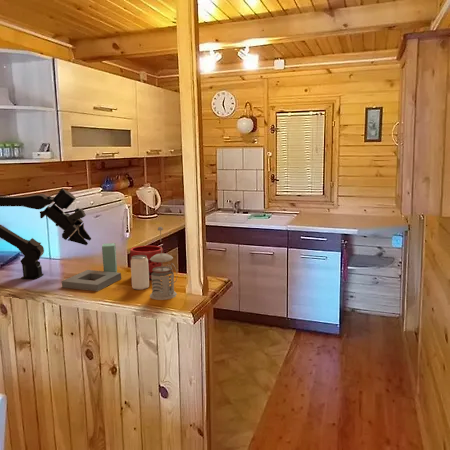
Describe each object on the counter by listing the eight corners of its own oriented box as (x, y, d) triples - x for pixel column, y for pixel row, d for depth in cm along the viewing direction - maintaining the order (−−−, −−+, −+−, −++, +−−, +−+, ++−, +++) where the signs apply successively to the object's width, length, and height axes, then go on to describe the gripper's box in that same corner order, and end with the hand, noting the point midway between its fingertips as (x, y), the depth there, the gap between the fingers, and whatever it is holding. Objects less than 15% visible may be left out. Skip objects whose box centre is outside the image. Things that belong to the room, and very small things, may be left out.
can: (147, 289, 165) (146, 258, 163) (130, 290, 165) (128, 259, 163) (150, 284, 171) (149, 254, 169) (133, 284, 171) (132, 254, 169)
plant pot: (160, 281, 175) (158, 251, 173) (127, 281, 176) (125, 251, 174) (166, 271, 188) (165, 244, 186) (136, 271, 189) (134, 244, 187)
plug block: (103, 274, 186) (101, 246, 184) (105, 270, 191) (103, 243, 189) (116, 273, 187) (114, 245, 184) (117, 270, 191) (115, 243, 189)
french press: (164, 288, 166) (161, 223, 161) (186, 295, 158) (183, 226, 154) (143, 296, 158) (140, 227, 154) (166, 303, 151) (163, 231, 146)
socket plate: (62, 287, 169) (61, 281, 169) (87, 275, 184) (87, 269, 184) (97, 291, 164) (97, 284, 164) (121, 278, 179) (120, 272, 179)
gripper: (67, 206, 172) (99, 232, 176) (76, 200, 190) (104, 224, 194) (48, 226, 172) (80, 252, 176) (58, 219, 191) (87, 242, 194)
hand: (89, 242), depth 185 cm, fingers open, 9 cm apart
